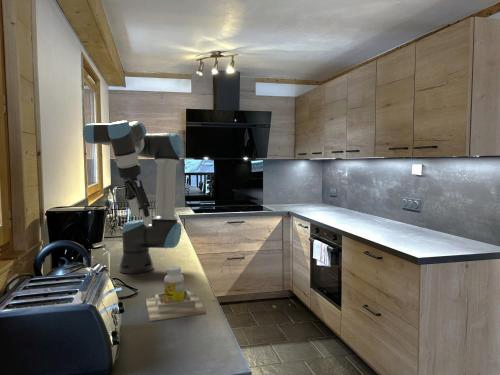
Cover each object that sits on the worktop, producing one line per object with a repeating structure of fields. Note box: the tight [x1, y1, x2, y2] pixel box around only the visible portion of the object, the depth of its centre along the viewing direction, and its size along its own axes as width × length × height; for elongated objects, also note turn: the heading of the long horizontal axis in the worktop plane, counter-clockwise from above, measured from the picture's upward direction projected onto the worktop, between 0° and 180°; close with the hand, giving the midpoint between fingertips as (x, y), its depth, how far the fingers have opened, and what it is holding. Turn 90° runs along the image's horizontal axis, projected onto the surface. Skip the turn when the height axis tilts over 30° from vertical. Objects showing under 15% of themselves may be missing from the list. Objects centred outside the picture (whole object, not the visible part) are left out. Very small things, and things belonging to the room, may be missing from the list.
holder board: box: [145, 289, 207, 322], centre depth 131 cm, size 18×18×4 cm
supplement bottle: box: [163, 265, 185, 304], centre depth 131 cm, size 7×7×13 cm
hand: (141, 219), depth 142 cm, fingers open, 13 cm apart
